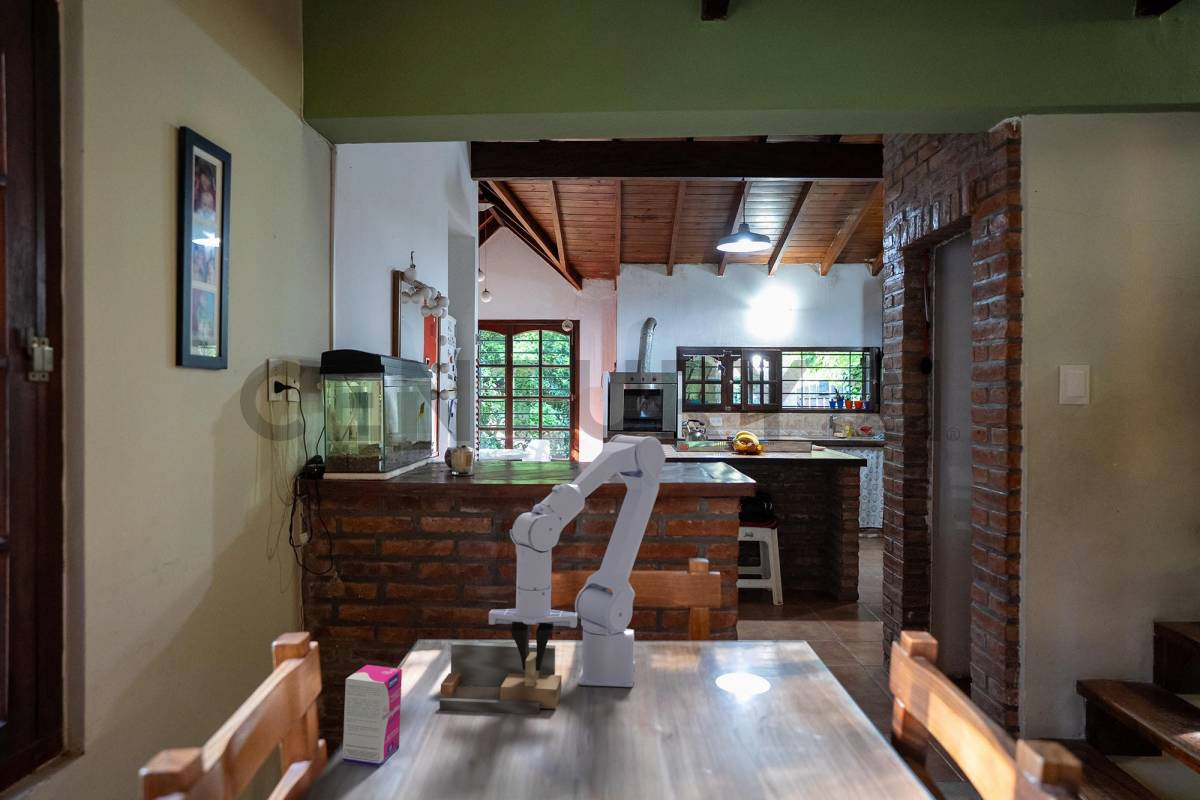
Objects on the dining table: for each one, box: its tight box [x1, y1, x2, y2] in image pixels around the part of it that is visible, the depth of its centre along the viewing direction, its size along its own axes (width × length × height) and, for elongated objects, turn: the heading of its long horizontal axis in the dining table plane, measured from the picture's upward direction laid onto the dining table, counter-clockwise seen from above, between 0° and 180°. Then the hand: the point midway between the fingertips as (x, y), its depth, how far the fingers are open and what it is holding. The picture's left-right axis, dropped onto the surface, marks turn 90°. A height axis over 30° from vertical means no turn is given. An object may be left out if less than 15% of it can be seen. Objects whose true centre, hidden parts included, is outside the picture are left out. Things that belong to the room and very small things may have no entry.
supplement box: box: [341, 664, 403, 768], centre depth 100 cm, size 6×6×12 cm
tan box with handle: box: [499, 652, 562, 710], centre depth 119 cm, size 9×7×7 cm
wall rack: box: [439, 641, 556, 715], centre depth 120 cm, size 18×12×7 cm, turn 86°
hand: (532, 668), depth 119 cm, fingers closed on tan box with handle
